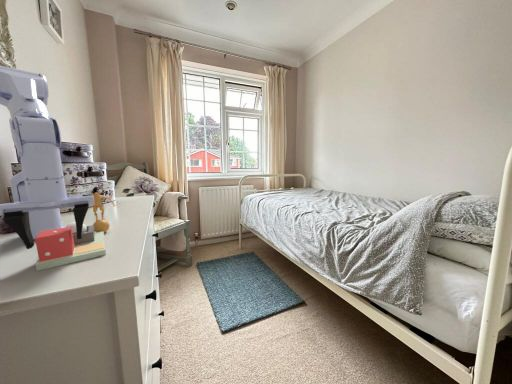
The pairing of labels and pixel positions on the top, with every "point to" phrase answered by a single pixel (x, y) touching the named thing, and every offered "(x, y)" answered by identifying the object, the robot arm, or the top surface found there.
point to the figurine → (101, 224)
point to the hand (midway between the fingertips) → (56, 242)
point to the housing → (85, 236)
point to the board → (78, 253)
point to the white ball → (73, 225)
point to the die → (55, 243)
